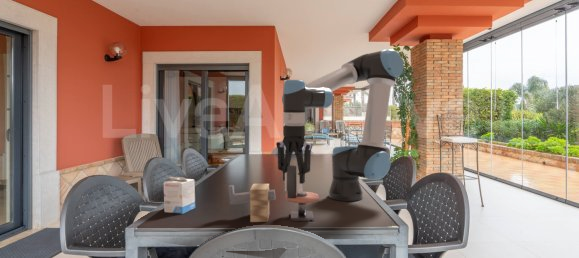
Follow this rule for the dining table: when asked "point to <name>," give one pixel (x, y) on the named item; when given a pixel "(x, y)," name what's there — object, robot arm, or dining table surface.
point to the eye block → (259, 203)
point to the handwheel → (291, 189)
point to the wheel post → (302, 213)
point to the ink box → (179, 195)
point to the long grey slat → (245, 196)
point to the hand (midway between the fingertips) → (293, 191)
